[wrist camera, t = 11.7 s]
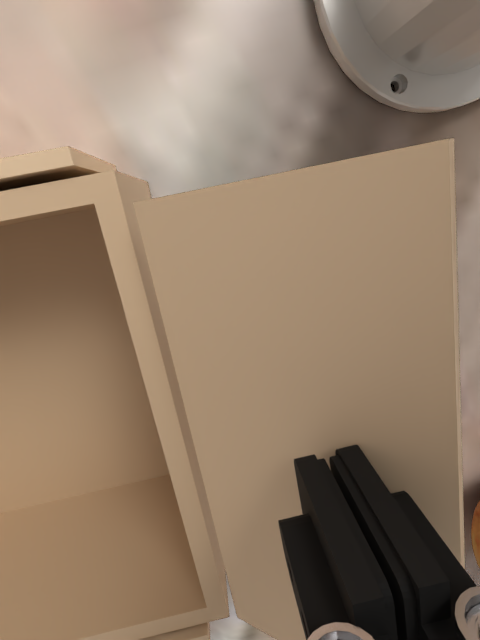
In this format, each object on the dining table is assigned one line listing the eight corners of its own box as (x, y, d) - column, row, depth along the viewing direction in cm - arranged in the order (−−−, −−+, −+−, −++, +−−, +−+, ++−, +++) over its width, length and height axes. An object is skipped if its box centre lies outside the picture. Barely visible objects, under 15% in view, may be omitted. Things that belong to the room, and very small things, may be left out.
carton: (143, 165, 21) (103, 139, 12) (218, 480, 27) (234, 639, 18) (-177, 225, 21) (-512, 251, 11) (-28, 537, 26) (-158, 738, 17)
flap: (146, 200, 12) (453, 137, 7) (244, 606, 17) (469, 727, 12) (133, 202, 12) (448, 138, 7) (237, 617, 16) (466, 746, 12)
